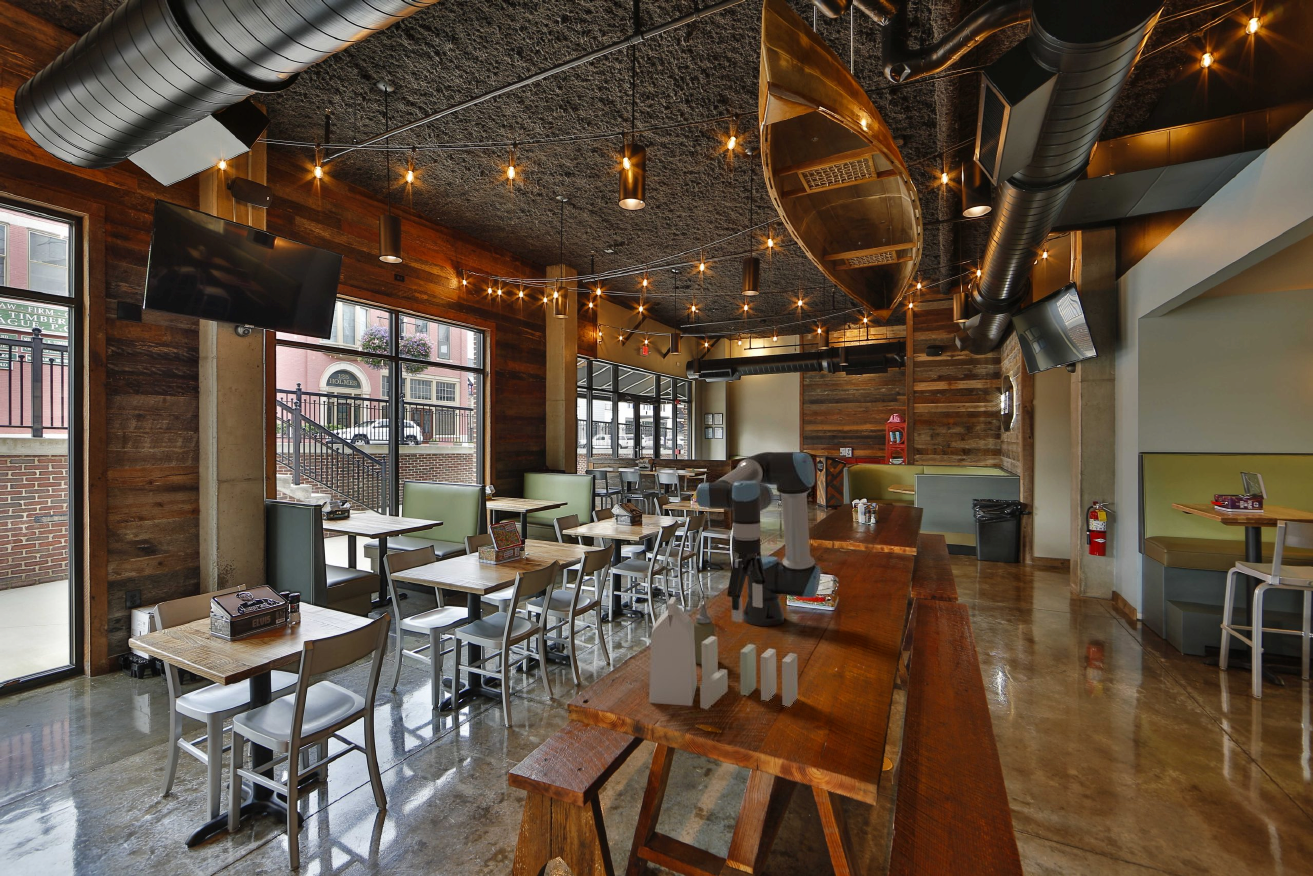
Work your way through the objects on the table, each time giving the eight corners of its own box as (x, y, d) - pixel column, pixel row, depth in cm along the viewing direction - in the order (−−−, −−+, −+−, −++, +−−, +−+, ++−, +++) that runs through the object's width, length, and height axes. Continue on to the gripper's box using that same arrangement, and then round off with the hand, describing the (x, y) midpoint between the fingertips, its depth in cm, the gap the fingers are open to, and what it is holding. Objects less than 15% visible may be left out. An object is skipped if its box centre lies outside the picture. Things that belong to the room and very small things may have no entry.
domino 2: (721, 689, 160) (700, 708, 150) (720, 668, 160) (700, 685, 150) (727, 691, 159) (707, 710, 149) (727, 670, 159) (706, 687, 149)
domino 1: (702, 684, 163) (701, 642, 163) (711, 676, 168) (711, 636, 168) (708, 686, 162) (707, 644, 162) (717, 678, 167) (717, 637, 167)
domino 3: (740, 694, 157) (740, 651, 157) (749, 686, 162) (749, 644, 162) (747, 696, 156) (746, 652, 156) (756, 687, 161) (755, 645, 161)
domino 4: (761, 700, 154) (760, 655, 153) (769, 691, 159) (769, 648, 158) (768, 702, 152) (767, 657, 152) (776, 693, 157) (776, 649, 157)
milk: (656, 682, 165) (655, 593, 164) (696, 685, 163) (695, 594, 162) (649, 702, 153) (647, 606, 152) (691, 705, 151) (690, 608, 151)
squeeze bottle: (696, 668, 174) (695, 609, 174) (687, 658, 182) (686, 601, 181) (720, 665, 176) (720, 607, 176) (711, 655, 184) (710, 599, 183)
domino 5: (782, 706, 150) (781, 660, 150) (790, 696, 155) (790, 652, 155) (789, 708, 149) (789, 662, 149) (797, 698, 154) (797, 654, 154)
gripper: (752, 528, 170) (753, 599, 171) (713, 544, 149) (714, 625, 150) (776, 530, 166) (777, 603, 167) (739, 548, 145) (741, 630, 146)
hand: (747, 613), depth 158 cm, fingers open, 13 cm apart
